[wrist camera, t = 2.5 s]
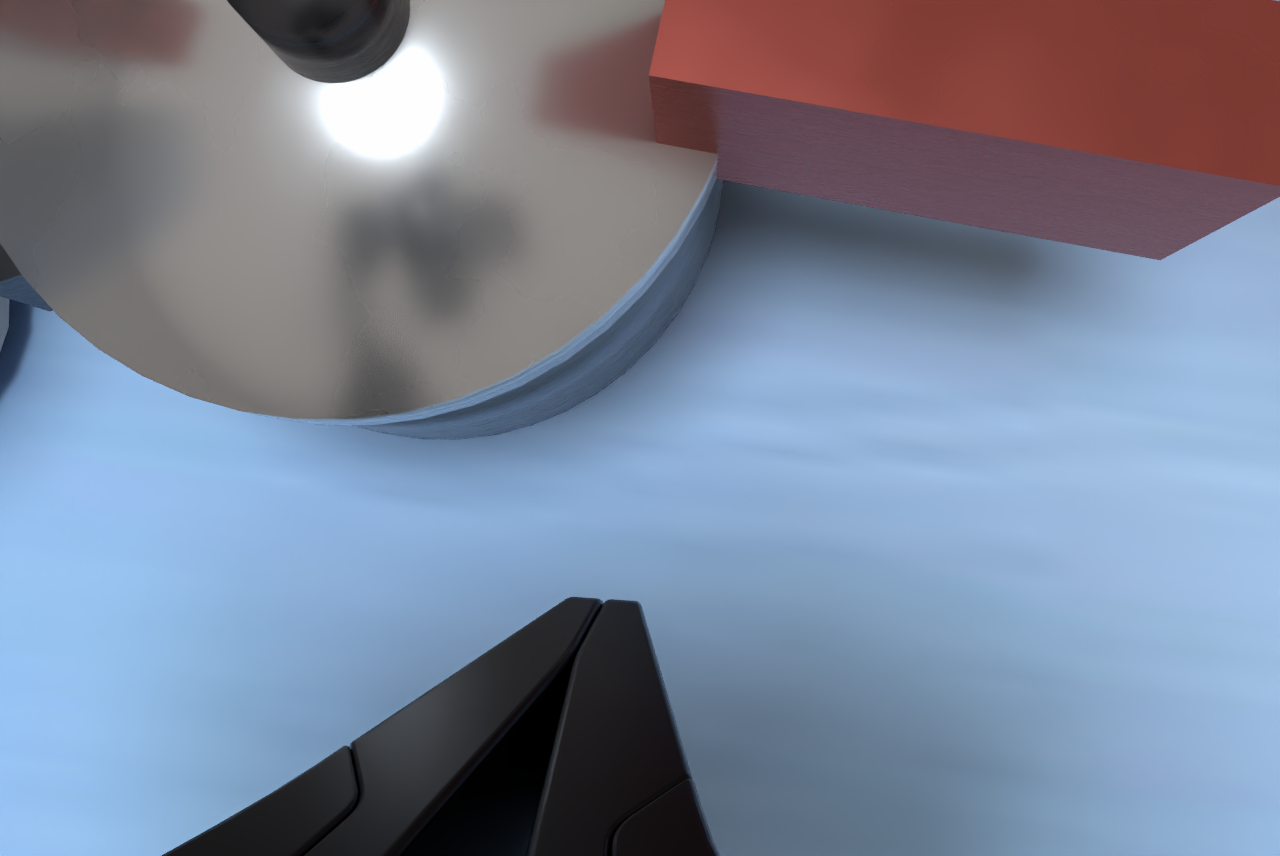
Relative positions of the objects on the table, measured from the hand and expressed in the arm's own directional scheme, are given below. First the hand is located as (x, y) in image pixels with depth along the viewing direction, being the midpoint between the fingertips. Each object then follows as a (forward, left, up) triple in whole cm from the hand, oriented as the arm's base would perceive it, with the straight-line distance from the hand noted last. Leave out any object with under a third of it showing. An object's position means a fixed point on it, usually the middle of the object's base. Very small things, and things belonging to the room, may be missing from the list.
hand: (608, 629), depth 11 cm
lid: (+10, 0, -6) cm, 11 cm away
